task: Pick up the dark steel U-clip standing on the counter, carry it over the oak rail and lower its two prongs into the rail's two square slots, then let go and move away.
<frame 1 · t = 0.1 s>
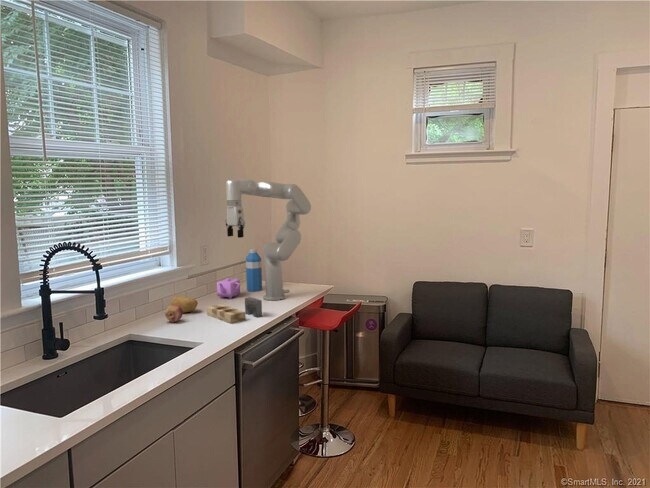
hand: (235, 236, 257), 37 cm above the table, tool pointing down, fingers open, 9 cm apart
water bottle: (254, 290, 301), on the table
rail: (225, 317, 238), on the table
clip: (253, 315, 242), on the table
fruit: (174, 322, 233), on the table
potato: (185, 312, 250), on the table
teapot: (228, 297, 283), on the table
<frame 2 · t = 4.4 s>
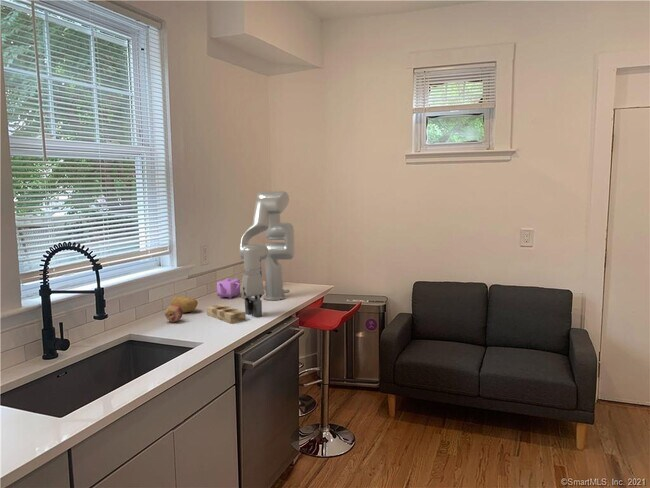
hand: (253, 309, 242), 3 cm above the table, tool pointing down, fingers closed on clip, 3 cm apart
clip: (253, 315, 242), on the table, touching gripper
everything else where it was.
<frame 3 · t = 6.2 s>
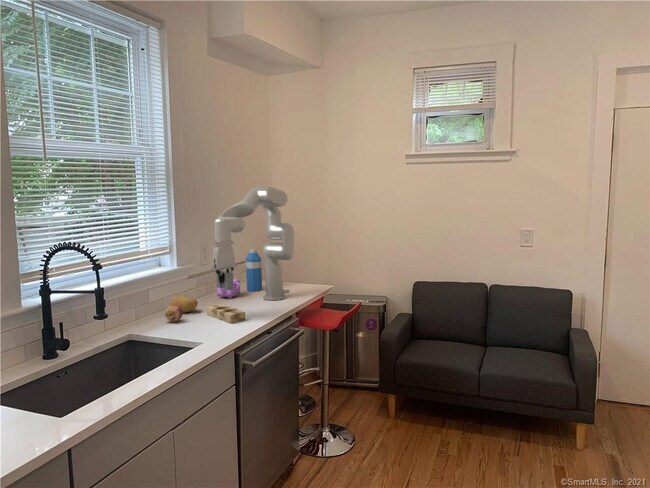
hand: (224, 282, 236), 17 cm above the table, tool pointing down, fingers closed on clip, 3 cm apart
clip: (225, 288, 237), point 14 cm above the table, touching gripper
everything else where it was.
when the fingers open (5 cm above the table, at t = 8.5 s): clip drops 2 cm, resting on rail.
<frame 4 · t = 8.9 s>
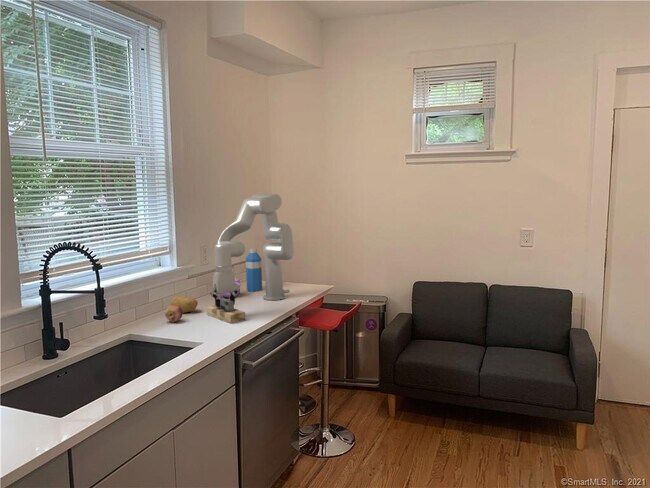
hand: (225, 305, 238), 6 cm above the table, tool pointing down, fingers open, 7 cm apart
clip: (225, 316, 238), point 1 cm above the table, touching rail
everything else where it was.
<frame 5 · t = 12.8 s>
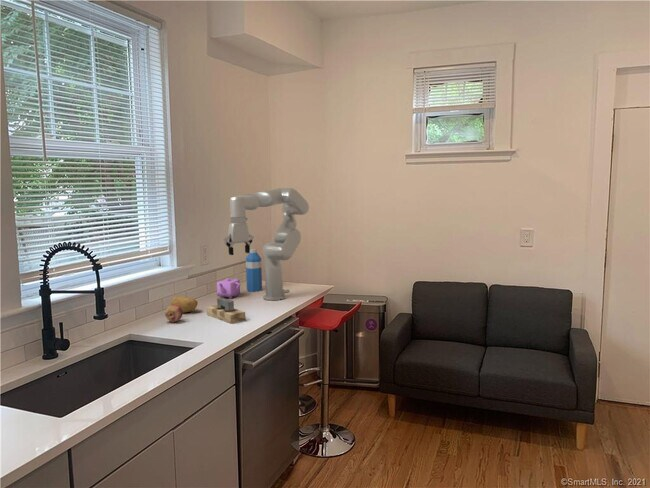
hand: (239, 253, 254), 28 cm above the table, tool pointing down, fingers open, 9 cm apart
nothing on the table moved.
at the end: clip 0.1 cm off-centre on the rail, point 0.6 cm above the rail's base; clip tilted 0°; the gripper is holding nothing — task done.
